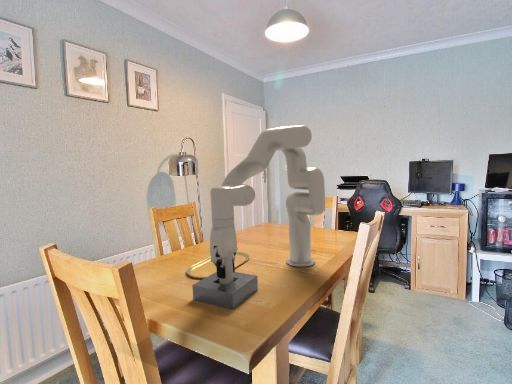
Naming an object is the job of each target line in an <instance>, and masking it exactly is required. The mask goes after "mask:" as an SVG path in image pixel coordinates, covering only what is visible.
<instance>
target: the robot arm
mask: <svg viewBox="0 0 512 384" xmlns="http://www.w3.org/2000/svg"><path fill="white" fill-rule="evenodd" d="M312 136H313V135H312V131H311V129H310V128H309V127H308V126H307V125H304V124H301V125H289V126H278V127H274V128H266V129H264V130H263V131H261V132H260V133H259V135H258V137H257V138H256V140H255V142H254V143H253V145H252V148H251V149H250V151H249V153H248V154H247V156H246V157H245V158H244V159H243V160H242V161H240V162H239V163H238V164H237V165H236V166H235V167H234V168H232V169H231V170H230V171H229V172H228V173H227V175H226V177H225V178H224V180H223V182H222V184H221V185H220V186H214V187H212V188H211V189H210V209H211V226H212V228H211V229H210V230H211V231H210V236H209V239H210V240H209V253H210V254H209V255H210V256H209V257H211V261H210V262H211V263H212V264H213V265H214V266H215V267H216V272H217V277H218V278H223V279H225V278H226V274H225V267H224V259H225V257H227V256H228V255H229V253H230V252H231V253H232V262H233V273H234V272H236V270H235V269H236V268H235V261H236V256H237V255H236V252H238V250H239V249H238V242H237V232H236V228H235V227H236V226H235V225H236V224H235V207H247V206H249V205H251V204H252V203H253V202H254V201H255V199H256V191H255V189H254V188H253V187H252V186H250V185H249V184H246V183H245V182H246V181H247V180H249V179H251V178H252V177H254V176H256V175H259V174H261V173H262V172H264V171H266V169H267V168H268V167H269V164H270V162H271V160H272V159H273V157H274V155H275V152H277V151H282V153H283V155H284V156H285V160H286V174H287V184H288V186H289V187H290V188H291V189H293V190H304V191H305V190H307V191H308V192H307V191H306V192H300V191H298V192H297V191H296V192H291V193H290V194H288V195H287V197H286V199H285V207H286V212H287V215H288V216H287V218H288V234H289V235H288V241H289V244H288V245H289V257H287V258H286V260H285V261H286V264H288V265H290V266H292V267H300V268H303V267H311V266H312V265H314V264H315V261H316V259H314V258H313V257H312V246H311V245H312V243H311V242H312V239H311V237H312V236H311V235H312V234H311V221H310V219H309V216H315V217H316V216H321V215H322V214H323V213H324V211H325V209H326V192H325V191H326V190H325V189H326V187H325V177H324V173H323V172H322V170H321V169H320V168H319V167H314V166H313V167H311V166H308V165H307V157H306V153H305V151H304V149H303V148H305V147H307V146H308V145H309V144H310V143H311V141H312ZM244 183H245V184H244ZM219 255H220V257H219ZM219 259H221V262H220V261H219Z"/></svg>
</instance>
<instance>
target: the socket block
mask: <svg viewBox="0 0 512 384" xmlns="http://www.w3.org/2000/svg"><path fill="white" fill-rule="evenodd" d="M205 277H206V278H204V279H201V280H199V281H197V282H196V283H194V284H192V300H193V301H198V302H202V303H206V304H209V305H213V306H217V307H218V306H219V307H223V308H226V309H230V310H234V309H235V308H236V307H238V306H239V305H241V304H242V303H243V302H245V300H247V299H248V298H249V297H250V296H251V295H253V294H254V293H255V292H256V291H258V290H259V285H258V284H259V283H258V280H259V279H258V275H256V274H250V273H245V272H238V271H235V272H234V273H233V283H231V284H230V285H224V284H220V281H219V278H218V277H217V271H215V272H213V273H211V274H210V275H208V276H205Z"/></svg>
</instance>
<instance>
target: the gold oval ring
mask: <svg viewBox="0 0 512 384" xmlns="http://www.w3.org/2000/svg"><path fill="white" fill-rule="evenodd" d="M235 256H241V257H244V258H245V260H243V261H242V262H240V263H238V264H237V265H236V266H235V265H234V266H235V269H237V268H239V267H240V266H241V265H242V264H243V265H244V264H245V263H246V262H247V261H249V259H250V255H249V254H248V253H246V252H242V251H237V252H236V255H235ZM210 260H211V256H209V257H207V258H205V259H203V260H201V261H199V262H197V263H195V264H193V265H191V266H189V267H188V268H187V269H186V273H187V275H188V276H189V277H191V278H194V279H197V280H198V279H199V280H200V279H201V280H203V279H204V278H206V277H207V276H198V275H197V276H196V275H193V274H192V273H191V272H192V271H193V270H195V269H197V268H200V267H201V266H203V265H205V264H207V263H210V262H211V261H210Z"/></svg>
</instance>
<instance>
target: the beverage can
mask: <svg viewBox="0 0 512 384" xmlns="http://www.w3.org/2000/svg"><path fill="white" fill-rule="evenodd" d="M219 257H220V255H219ZM219 261H220V262H221V259H219ZM224 267H225V274H226V278H225V279H223V278H219V281H220V284H224V285H230V284H231V283H233V262H232V253H231V252H230V253H229V255H228V256H227V257H225V259H224Z"/></svg>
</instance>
